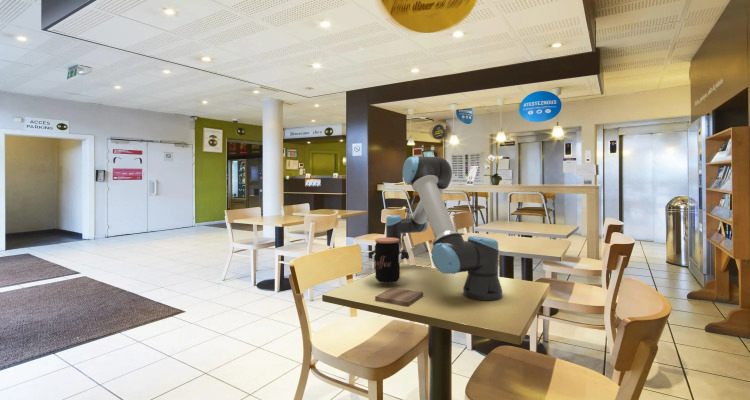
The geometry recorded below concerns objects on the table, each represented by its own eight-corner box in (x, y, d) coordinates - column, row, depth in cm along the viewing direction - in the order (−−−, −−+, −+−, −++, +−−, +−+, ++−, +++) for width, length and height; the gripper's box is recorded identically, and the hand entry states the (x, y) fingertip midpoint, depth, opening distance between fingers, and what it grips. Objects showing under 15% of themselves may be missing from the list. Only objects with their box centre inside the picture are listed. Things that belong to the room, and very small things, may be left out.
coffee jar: (370, 279, 169) (370, 239, 168) (387, 275, 176) (387, 236, 175) (387, 284, 161) (386, 242, 160) (404, 279, 168) (404, 239, 167)
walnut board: (423, 296, 152) (423, 292, 152) (408, 306, 140) (408, 302, 140) (392, 290, 159) (392, 287, 159) (375, 300, 147) (375, 296, 147)
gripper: (415, 257, 184) (413, 268, 162) (368, 256, 187) (359, 267, 166) (415, 242, 184) (413, 250, 162) (368, 241, 187) (359, 250, 165)
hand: (386, 259), depth 164 cm, fingers closed on coffee jar, 11 cm apart
